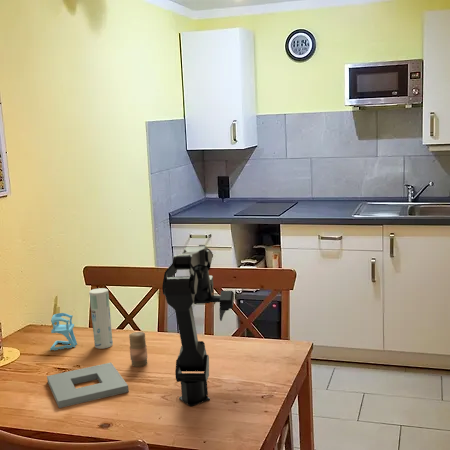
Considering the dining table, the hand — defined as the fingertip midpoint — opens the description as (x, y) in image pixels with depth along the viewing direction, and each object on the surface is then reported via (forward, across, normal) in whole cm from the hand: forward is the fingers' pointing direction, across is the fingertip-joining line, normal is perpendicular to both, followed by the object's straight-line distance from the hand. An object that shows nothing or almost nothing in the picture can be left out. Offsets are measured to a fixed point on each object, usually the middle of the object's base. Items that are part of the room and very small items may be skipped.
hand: (206, 320), depth 199 cm
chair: (+19, +54, -8) cm, 58 cm away
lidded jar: (+12, +23, +7) cm, 27 cm away
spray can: (+19, +40, -8) cm, 45 cm away
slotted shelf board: (+5, +34, +23) cm, 41 cm away
